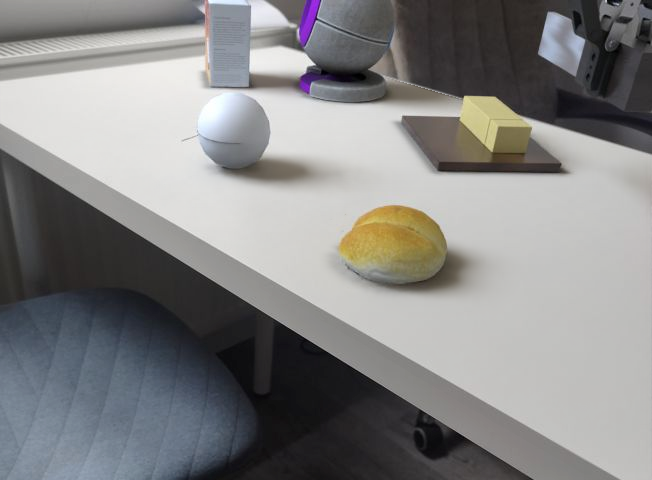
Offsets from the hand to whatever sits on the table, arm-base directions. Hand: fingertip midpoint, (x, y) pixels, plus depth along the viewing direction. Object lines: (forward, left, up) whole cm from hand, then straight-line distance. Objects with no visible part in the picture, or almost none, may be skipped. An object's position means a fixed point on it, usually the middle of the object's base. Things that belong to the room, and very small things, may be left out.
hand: (611, 94), depth 60 cm
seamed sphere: (+33, -12, -12) cm, 37 cm away
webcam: (+15, -43, -12) cm, 47 cm away
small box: (+31, -46, -12) cm, 56 cm away
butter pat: (+1, -16, -10) cm, 19 cm away
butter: (+1, -22, -10) cm, 24 cm away
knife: (0, -5, 0) cm, 5 cm away
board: (+3, -20, -11) cm, 23 cm away
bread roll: (+20, +8, -12) cm, 24 cm away
